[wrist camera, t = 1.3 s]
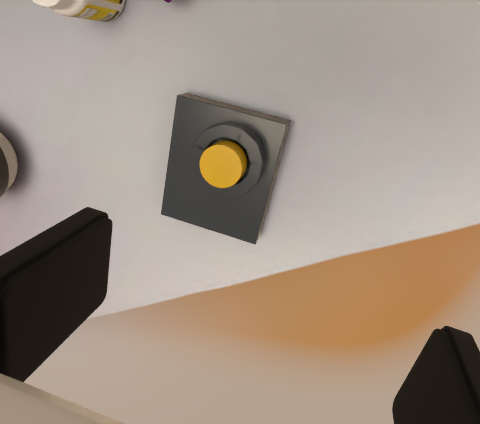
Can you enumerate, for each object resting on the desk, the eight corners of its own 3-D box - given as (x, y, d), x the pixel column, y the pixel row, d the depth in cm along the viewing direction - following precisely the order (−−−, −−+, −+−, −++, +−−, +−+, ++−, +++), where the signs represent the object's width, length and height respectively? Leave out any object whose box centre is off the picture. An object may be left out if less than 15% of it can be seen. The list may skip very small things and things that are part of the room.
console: (186, 92, 38) (168, 96, 34) (291, 120, 36) (284, 127, 32) (170, 206, 43) (152, 221, 39) (260, 234, 42) (251, 253, 38)
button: (210, 135, 35) (203, 139, 33) (251, 146, 34) (246, 151, 32) (203, 175, 36) (196, 181, 34) (242, 186, 36) (236, 193, 34)
